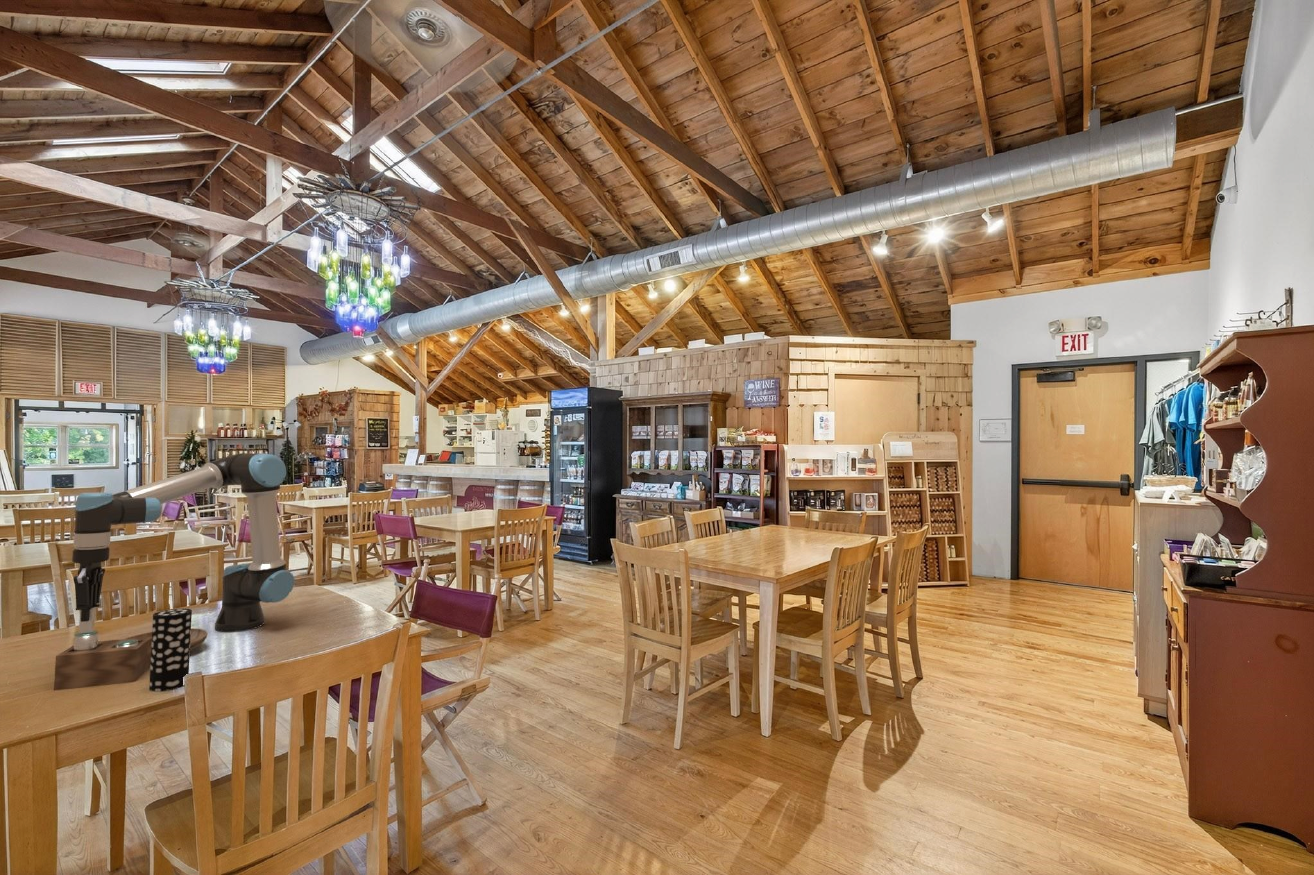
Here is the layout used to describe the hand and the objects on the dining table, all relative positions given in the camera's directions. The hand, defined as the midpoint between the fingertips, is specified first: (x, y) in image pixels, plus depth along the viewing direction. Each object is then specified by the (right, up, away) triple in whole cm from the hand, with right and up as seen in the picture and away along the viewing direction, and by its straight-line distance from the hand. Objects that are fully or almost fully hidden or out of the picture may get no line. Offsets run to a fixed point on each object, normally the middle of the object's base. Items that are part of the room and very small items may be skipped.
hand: (86, 632), depth 165 cm
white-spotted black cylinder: (+26, -14, -3) cm, 29 cm away
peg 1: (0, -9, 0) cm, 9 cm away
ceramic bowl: (+2, -15, +23) cm, 27 cm away
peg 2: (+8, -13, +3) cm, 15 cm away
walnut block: (+4, -14, +1) cm, 14 cm away
